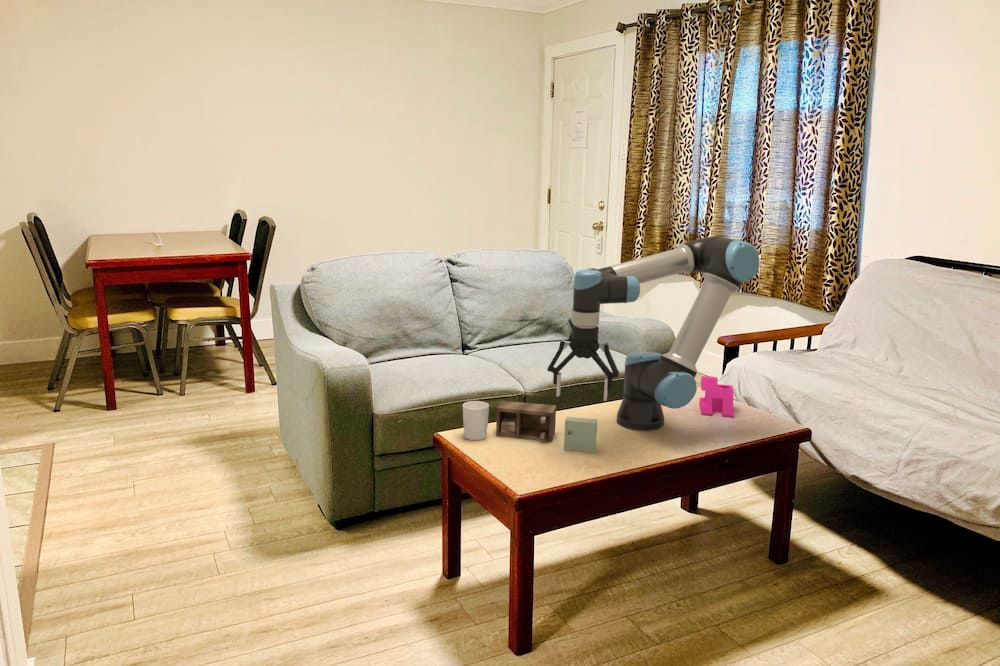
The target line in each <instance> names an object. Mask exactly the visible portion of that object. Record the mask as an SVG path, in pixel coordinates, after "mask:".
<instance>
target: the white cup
mask: <svg viewBox="0 0 1000 666" xmlns="http://www.w3.org/2000/svg"><path fill="white" fill-rule="evenodd" d="M489 408H490V405H489V403H487V402H485V401H480V400H472V401H471V400H470V401H465V402H464V403H463V404H462V420H463V432H464V433H463V436H464V438H465V439H467V440H470V441H481V440H484V439H486V438H487V435H488V426H489V424H488V423H489V411H490V409H489Z"/></svg>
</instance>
